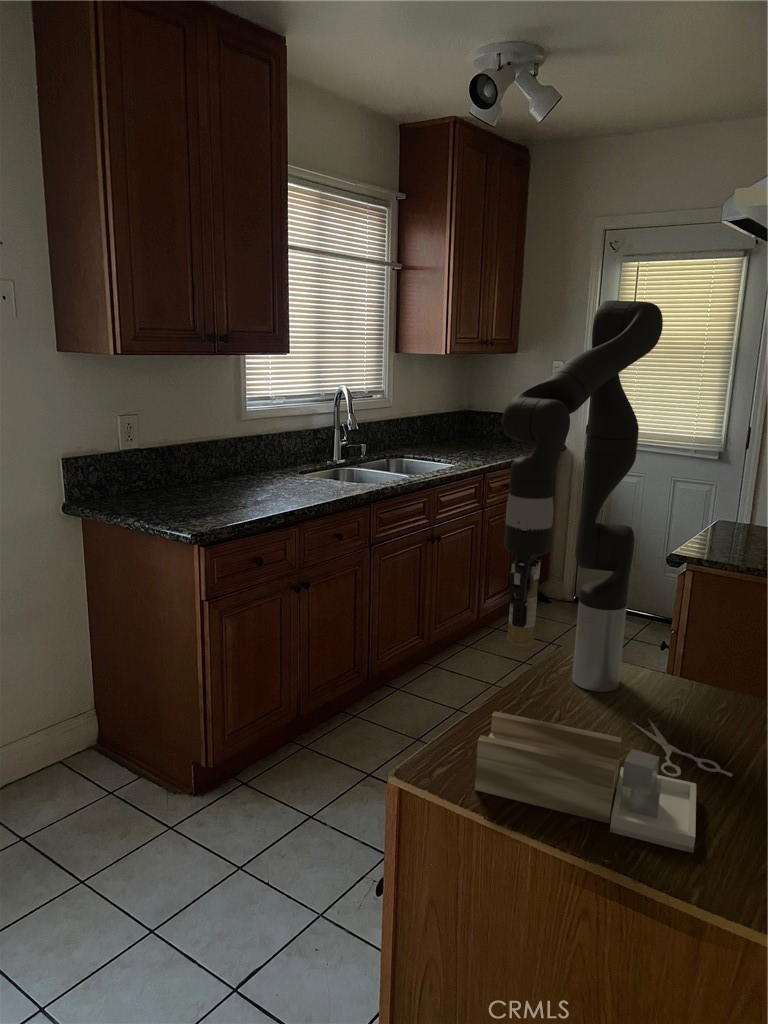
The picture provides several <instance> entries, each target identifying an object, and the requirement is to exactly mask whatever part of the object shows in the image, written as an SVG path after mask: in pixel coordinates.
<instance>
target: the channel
mask: <svg viewBox="0 0 768 1024" xmlns="http://www.w3.org/2000/svg"><path fill="white" fill-rule="evenodd" d="M621 747H622V737H619V736H615V735H611V734H605V733H600V732H595V731H591V730H587V729H581V728H576V727H572V726H567V725H562V724H557V723H553V722H552V723H551V722H548V721H543V720H538V719H534V718H528V717H524V716H519V715H513V714H509V713H505V712H500V711H493V713H492V714H491V727H490V733H489V735H488V736H487V735H482V734H480V735H479V737H478V739H477V747H476V748H477V749H476V762H475V763H476V764H475V767H476V768H475V780H474V781H475V783H474V790H475V791H478V792H482V793H487V794H489V795H494V796H498V797H502V798H506V799H510V800H514V801H517V802H522V803H525V804H530V805H533V806H538V807H542V808H546V809H548V810H549V809H550V810H554V811H558V812H563V813H566V814H570V815H573V816H578V817H581V818H586V819H591V820H594V821H597V822H598V821H599V822H601V823H607V824H610V823H611V816H612V811H613V806H614V801H615V796H616V791H617V786H618V778H619V776H618V775H619V768H620V767H619V766H620V765H619V764H620V756H621Z"/></svg>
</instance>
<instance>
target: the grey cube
mask: <svg viewBox="0 0 768 1024" xmlns="http://www.w3.org/2000/svg"><path fill="white" fill-rule="evenodd" d="M659 764H660V756H658V755H654V754H651V753H648V752H645V751H644V752H643V751H641V750H639V749H638V750H637V749H634V748H631V749H630V750H629V752H628V754H627V755H626V758H625V759H624V763H623V767H624V770H623V779H622V786H625V787H628V788H631V789H634V790H637V791H641V792H644V793H647V794H651V792H652V790H653V788H654V786H655V784H656V782H657V775H659V773H658V772H659Z"/></svg>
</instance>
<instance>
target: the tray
mask: <svg viewBox="0 0 768 1024" xmlns="http://www.w3.org/2000/svg"><path fill="white" fill-rule="evenodd" d="M623 770H624V766H621V767H620V772H619V776H618V780H617V787H616V792H615V797H614V802H613V807H612V812H611V817H610V825H609V833H613V834H617V835H620V836H624V837H629V838H632V839H636V840H641V841H644V842H648V843H652V844H656V845H660V846H664V847H668V848H671V849H676V850H679V851H683V852H687V853H690V854H691V853H692V854H694V849H695V842H696V824H697V821H696V819H697V816H696V815H697V783H695V782H691V781H687V780H681V779H678V778H674V777H670V776H664V775H659V774H657V779H662V782H661V790H660V799H659V807H658V815H657V818H653V817H649V816H645V815H641V814H637V813H633V812H629V811H628V809H629V800H630V790H631V788H628V787H625V786H622V779H623Z"/></svg>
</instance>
